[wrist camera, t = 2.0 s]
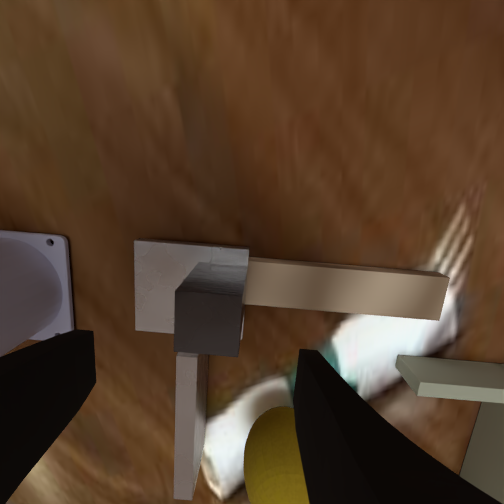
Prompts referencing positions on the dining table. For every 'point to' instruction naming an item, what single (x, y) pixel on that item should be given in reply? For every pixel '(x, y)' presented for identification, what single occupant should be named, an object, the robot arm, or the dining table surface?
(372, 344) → the dining table surface
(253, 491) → the lemon
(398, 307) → the rail
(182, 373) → the slider
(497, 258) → the dining table surface
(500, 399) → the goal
